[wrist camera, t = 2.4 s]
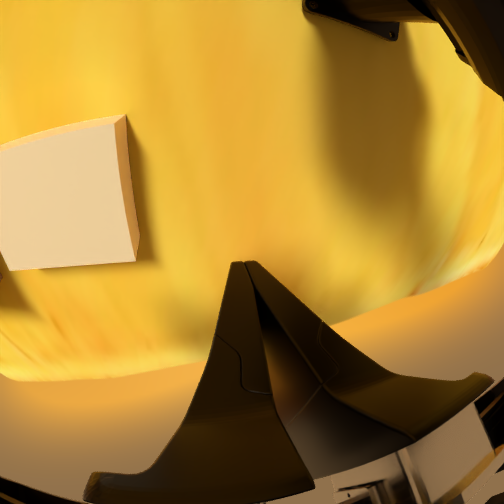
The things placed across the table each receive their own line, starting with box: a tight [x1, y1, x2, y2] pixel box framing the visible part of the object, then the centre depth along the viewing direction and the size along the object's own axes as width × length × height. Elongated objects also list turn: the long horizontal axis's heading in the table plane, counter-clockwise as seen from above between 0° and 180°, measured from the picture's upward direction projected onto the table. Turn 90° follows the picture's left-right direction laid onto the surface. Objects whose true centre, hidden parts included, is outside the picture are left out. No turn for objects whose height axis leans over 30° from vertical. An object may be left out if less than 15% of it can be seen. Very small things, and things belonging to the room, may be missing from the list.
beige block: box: [0, 114, 140, 271], centre depth 12 cm, size 10×8×3 cm
